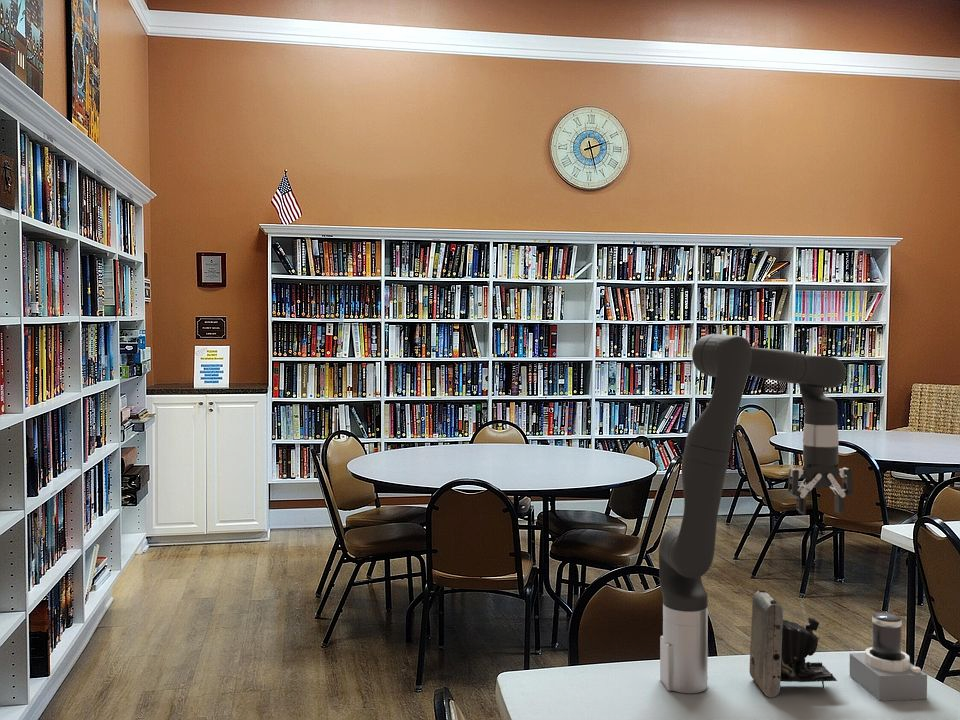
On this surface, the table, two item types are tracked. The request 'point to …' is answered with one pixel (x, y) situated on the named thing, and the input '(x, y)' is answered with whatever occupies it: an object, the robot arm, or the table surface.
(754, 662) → the vintage camera
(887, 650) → the lens
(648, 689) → the table surface
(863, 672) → the grey base with ring
